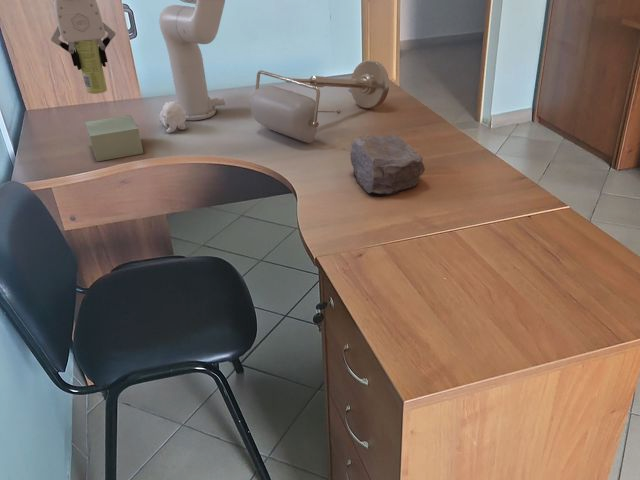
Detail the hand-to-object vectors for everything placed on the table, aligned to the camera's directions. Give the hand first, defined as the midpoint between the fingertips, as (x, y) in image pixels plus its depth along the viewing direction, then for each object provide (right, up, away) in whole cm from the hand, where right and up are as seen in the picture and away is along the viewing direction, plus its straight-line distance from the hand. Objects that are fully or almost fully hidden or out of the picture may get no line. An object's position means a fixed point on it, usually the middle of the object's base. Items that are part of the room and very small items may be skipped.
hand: (91, 66), depth 150 cm
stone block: (+75, -31, -7) cm, 82 cm away
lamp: (+59, -7, +28) cm, 66 cm away
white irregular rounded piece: (+13, -10, +25) cm, 30 cm away
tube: (0, -5, +4) cm, 7 cm away
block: (+2, -19, +11) cm, 22 cm away
